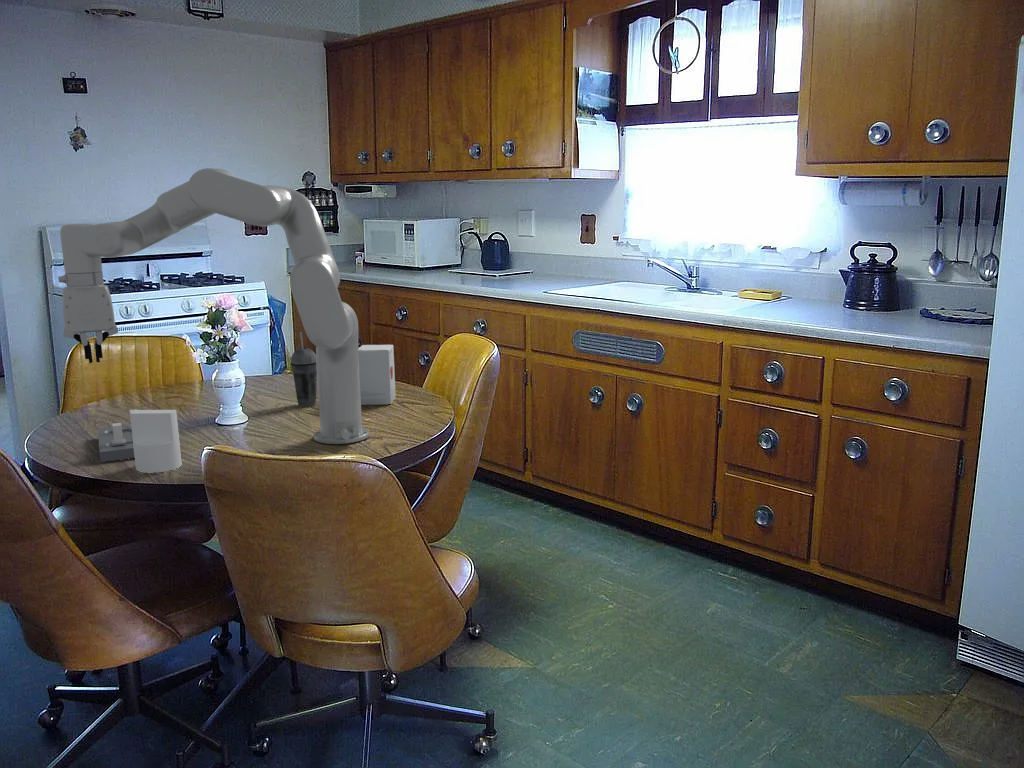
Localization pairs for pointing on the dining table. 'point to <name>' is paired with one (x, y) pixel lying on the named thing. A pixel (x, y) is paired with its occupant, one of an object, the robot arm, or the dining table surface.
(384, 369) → the supplement box
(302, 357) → the beverage cup
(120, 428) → the block
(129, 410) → the breaker
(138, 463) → the grey upright block
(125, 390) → the dining table surface
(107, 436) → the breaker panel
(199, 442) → the dining table surface
